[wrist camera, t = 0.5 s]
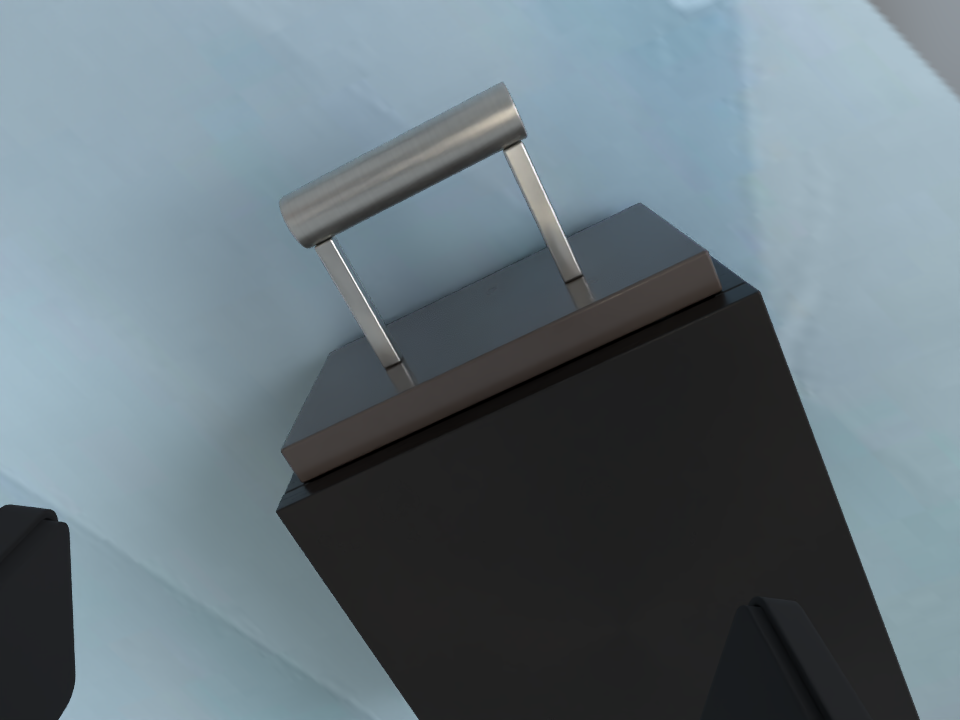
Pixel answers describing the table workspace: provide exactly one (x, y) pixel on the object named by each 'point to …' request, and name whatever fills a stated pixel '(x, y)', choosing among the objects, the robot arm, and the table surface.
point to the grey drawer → (473, 292)
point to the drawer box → (600, 533)
